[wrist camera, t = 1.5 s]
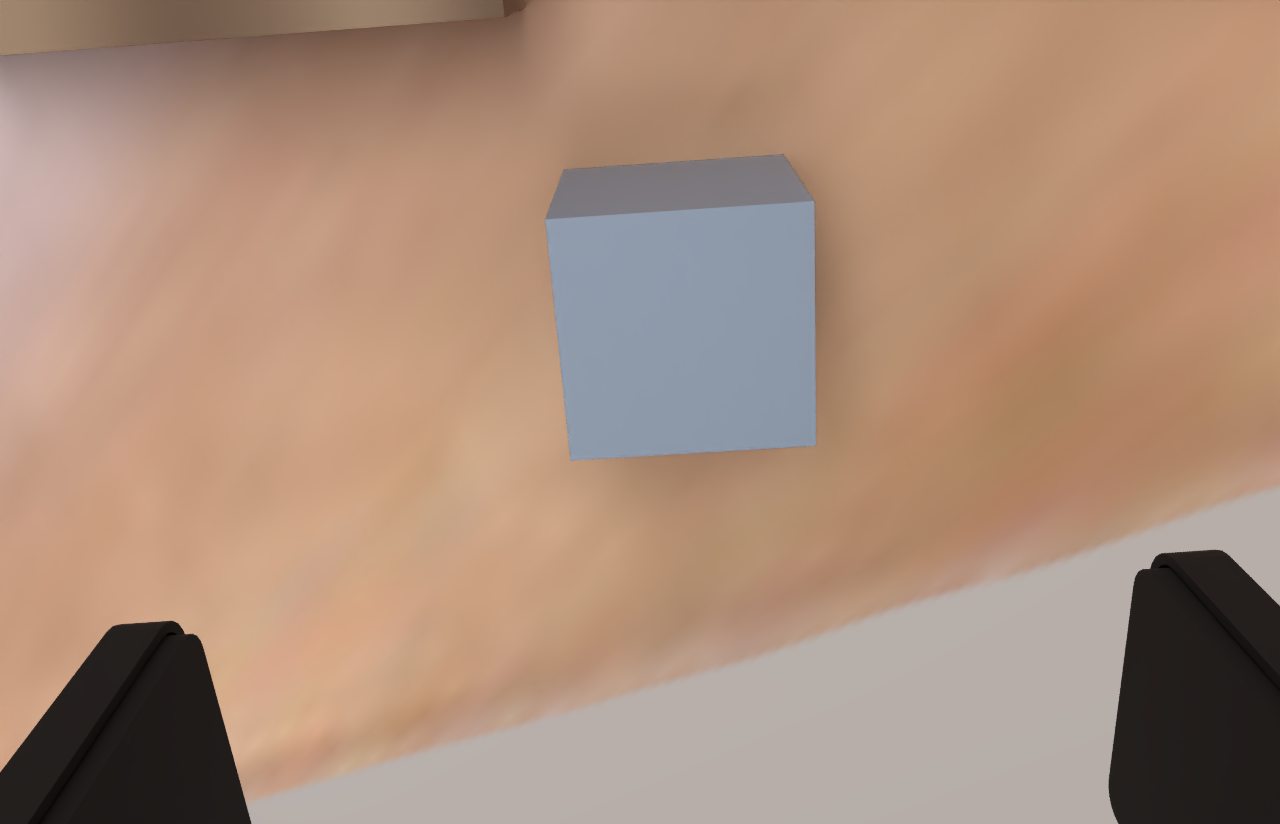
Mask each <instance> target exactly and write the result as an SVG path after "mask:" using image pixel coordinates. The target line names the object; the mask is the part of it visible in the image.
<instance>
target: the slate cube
mask: <svg viewBox="0 0 1280 824" xmlns="http://www.w3.org/2000/svg"><path fill="white" fill-rule="evenodd" d="M545 222H546V231H547V241H548V250H549V260H550V269H551V279H552V288H553V297H554V307H555V316H556V326H557V335H558V345H559V354H560V364H561V373H562V383H563V392H564V402H565V411H566V421H567V430H568V440H569V449H570V459H571V461H574V460H590V459H607V458H623V457H640V456H656V455H673V454H689V453H706V452H722V451H739V450H755V449H772V448H788V447H805V446H816V377H815V218H814V200H813V198H812V197H811V195H810V194H809V192H808V191H807V189H806V188H805V186H804V185H803V183H802V182H801V180H800V179H799V177H798V176H797V174H796V173H795V171H794V170H793V168H792V166H791V165H790V163H789V162H788V160H787V159H786V157H785V156H784V154H781V155H767V156H752V157H738V158H723V159H709V160H694V161H680V162H666V163H651V164H637V165H622V166H608V167H593V168H579V169H564V170H563V173H562V176H561V179H560V181H559V184H558V187H557V189H556V192H555V195H554V197H553V200H552V203H551V205H550V208H549V211H548V213H547V216H546V219H545Z"/></svg>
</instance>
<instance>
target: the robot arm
mask: <svg viewBox="0 0 1280 824" xmlns="http://www.w3.org/2000/svg"><path fill="white" fill-rule="evenodd" d="M1109 797H1110V801H1111V806H1112V809H1113V812H1114V815H1115V817H1116V819H1117V822H1118V823H1119V824H1280V606H1279V605H1278V604H1277V603H1276V602H1275V601H1274V600H1273V599H1272V598H1271V597H1270V596H1269V595H1268V594H1267V593H1266V592H1265V591H1264V590H1263V589H1262V588H1261V587H1260V586H1259V585H1258V584H1257V583H1256V582H1255V581H1254V580H1253V579H1252V578H1251V577H1250V576H1249V575H1248V574H1247V573H1246V572H1245V571H1244V570H1243V569H1242V568H1241V567H1240V566H1239V565H1238V564H1237V563H1236V562H1235V561H1234V560H1233V559H1232V558H1231V557H1230V556H1229V555H1228V554H1226V553H1225V552H1223V551H1220V550H1207V551H1206V550H1205V551H1192V552H1191V551H1190V552H1177V553H1176V552H1175V553H1161V554H1159V555H1158V556H1156V557H1155V559H1154V561H1153V562H1152V565H1151V568H1150V569H1142V570H1141V571H1139V572H1138V573H1137V575H1136V577H1135V581H1134V586H1133V593H1132V601H1131V609H1130V617H1129V625H1128V633H1127V641H1126V649H1125V657H1124V664H1123V672H1122V680H1121V688H1120V696H1119V704H1118V711H1117V719H1116V727H1115V735H1114V744H1113V751H1112V759H1111V767H1110V774H1109ZM0 824H251V820H250V817H249V813H248V810H247V806H246V802H245V799H244V795H243V791H242V788H241V784H240V780H239V777H238V773H237V769H236V766H235V762H234V758H233V755H232V751H231V747H230V744H229V740H228V736H227V733H226V729H225V725H224V722H223V718H222V715H221V711H220V707H219V704H218V700H217V696H216V693H215V689H214V685H213V682H212V678H211V674H210V671H209V667H208V663H207V660H206V656H205V652H204V649H203V646H202V643H201V641H200V639H199V638H198V637H197V636H196V635H194V634H184V631H183V629H182V628H181V627H180V625H179V624H178V623H176V622H174V621H163V622H148V623H134V624H120V625H116V626H113V627H112V628H111V629H109V630H108V631H107V632H106V634H105V635H104V636H103V638H102V639H101V640H100V642H99V643H98V644H97V646H96V647H95V648H94V649H93V651H92V652H91V653H90V655H89V656H88V657H87V659H86V660H85V661H84V663H83V664H82V665H81V667H80V668H79V669H78V671H77V672H76V673H75V675H74V676H73V677H72V679H71V680H70V681H69V682H68V684H67V685H66V686H65V688H64V689H63V690H62V692H61V693H60V694H59V696H58V697H57V698H56V700H55V701H54V702H53V704H52V705H51V706H50V708H49V709H48V710H47V712H46V713H45V714H44V715H43V717H42V718H41V719H40V721H39V722H38V723H37V725H36V726H35V727H34V729H33V730H32V731H31V733H30V734H29V735H28V737H27V738H26V739H25V741H24V742H23V743H22V745H21V746H20V747H19V748H18V750H17V751H16V752H15V754H14V755H13V756H12V758H11V759H10V760H9V762H8V763H7V764H6V766H5V767H4V768H3V770H2V771H1V772H0Z"/></svg>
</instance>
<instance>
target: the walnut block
mask: <svg viewBox="0 0 1280 824" xmlns="http://www.w3.org/2000/svg"><path fill="white" fill-rule="evenodd" d="M523 8H525V1H524V0H0V55H12V54H25V53H38V52H51V51H65V50H78V49H91V48H104V47H118V46H131V45H144V44H157V43H171V42H184V41H197V40H210V39H224V38H237V37H250V36H263V35H277V34H290V33H303V32H316V31H330V30H343V29H356V28H369V27H383V26H396V25H409V24H422V23H436V22H449V21H462V20H475V19H488V18H502V17H506V16H508V15H510V14H513V13H515V12H517V11H519V10H521V9H523Z"/></svg>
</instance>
